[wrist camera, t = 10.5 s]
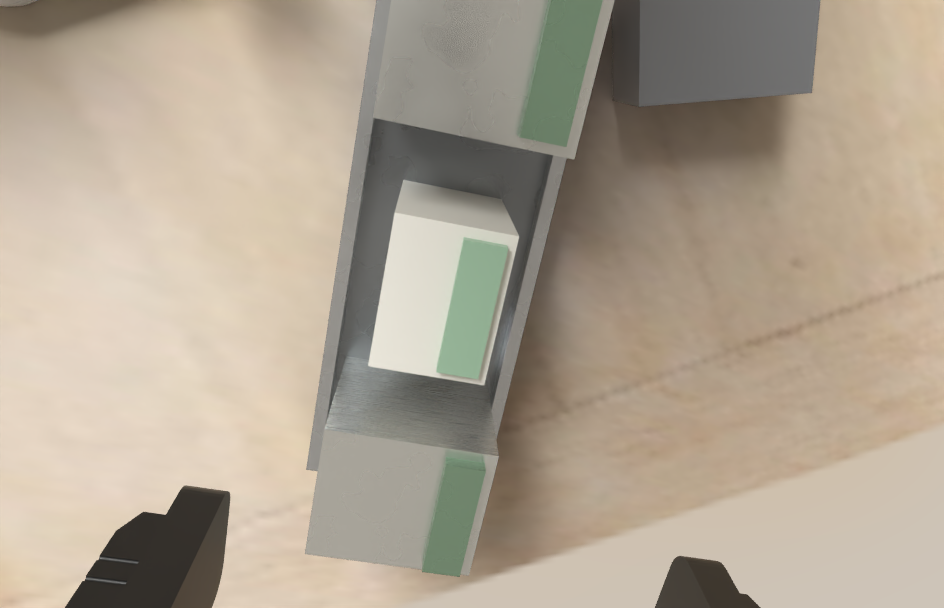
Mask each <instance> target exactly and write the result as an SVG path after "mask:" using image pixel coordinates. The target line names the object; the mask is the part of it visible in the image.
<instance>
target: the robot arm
mask: <svg viewBox="0 0 944 608" xmlns="http://www.w3.org/2000/svg"><path fill="white" fill-rule="evenodd" d="M229 506H230V493H229V492H228V491H221V490H214V489H207V488H200V487H193V486H184V487H183V488H182V489H181V490H180V492H179V493H178V495H177V497H176V499H175V500H174V502H173V504H172V505H171V507H170V509H169V511H168V512H167V514H166V515H162V514H155V513H148V512H142V513H141V514H140V515H138V516H137V517H135V518H134V519H132V520H131V521H130V522H128V523H127V524H125V525H124V526H123V527H121V528H120V529H118V530H117V531H116V532H115V533H114V535H113V536H112V538H111V539H110V541H109V542H108V544H107V545H106V547H105V548H104V550H103V551H102V553H101V554H100V557H99V560H96V562H95V563H94V565H93V566H92V568H91V569H90V571H89V572H88V574H87V575H86V579H85V581H82V583H81V584H80V586H79V587H78V589H77V590H76V592H75V593H74V595H73V596H72V598H71V599H70V601H69V602H68V604H67V605H66V607H65V608H212V606H213V603H214V600H215V597H216V594H217V591H218V587H219V583H220V579H221V575H222V569H223V563H224V553H225V544H226V535H227V525H228V516H229ZM655 608H760V607H759V606H758V605H757V604H756V603H755V602H754V601H753V600H752V599H751V598H750V597H749V596H748V595H746V594H740V593H739V591H738V590H737V588H736V586H735V585H734V583H733V581H732V579H731V577H730V576H729V574H728V572H727V570H726V568H725V567H724V565H723V564H722V563H720V562H718V561H712V560H705V559H698V558H691V557H684V556H678V557H676V558H675V559H674V561H673V562H672V564H671V567H670V570H669V572H668V574H667V577H666V580H665V582H664V585H663V588H662V590H661V593H660V596H659V598H658V601H657V604H656V606H655Z"/></svg>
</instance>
